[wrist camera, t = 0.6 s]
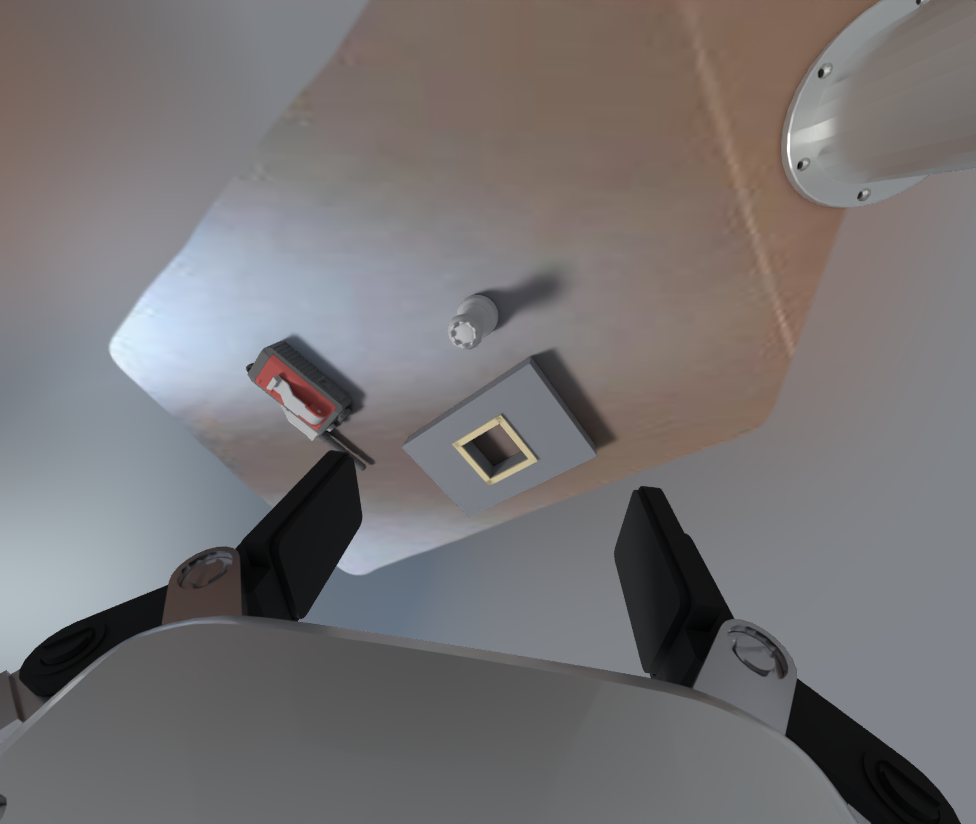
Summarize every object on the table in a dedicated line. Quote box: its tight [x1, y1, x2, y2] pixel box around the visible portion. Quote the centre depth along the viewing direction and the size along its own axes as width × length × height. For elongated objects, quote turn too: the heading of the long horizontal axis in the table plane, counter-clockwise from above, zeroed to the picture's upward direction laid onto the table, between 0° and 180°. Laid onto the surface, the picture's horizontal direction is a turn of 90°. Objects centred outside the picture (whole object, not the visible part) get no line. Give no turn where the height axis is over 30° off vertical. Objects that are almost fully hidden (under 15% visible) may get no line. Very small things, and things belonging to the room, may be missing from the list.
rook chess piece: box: [448, 295, 498, 349], centre depth 34 cm, size 4×4×8 cm
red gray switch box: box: [246, 342, 366, 471], centre depth 45 cm, size 9×4×20 cm
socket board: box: [402, 356, 597, 517], centre depth 43 cm, size 20×14×3 cm
